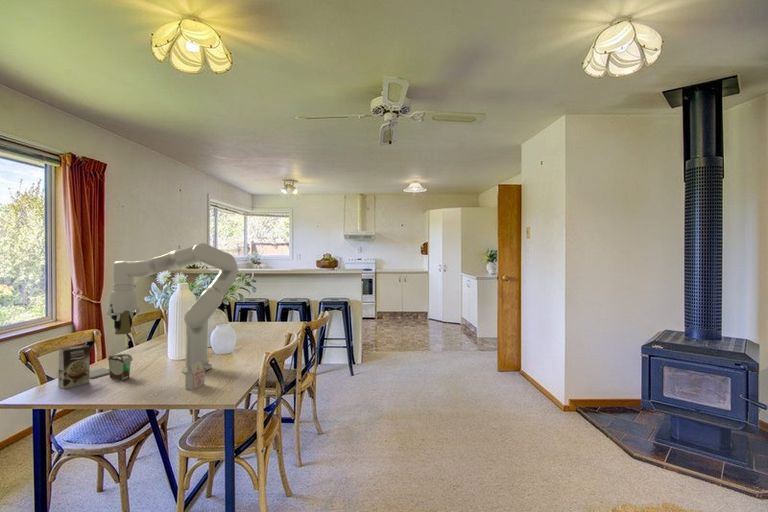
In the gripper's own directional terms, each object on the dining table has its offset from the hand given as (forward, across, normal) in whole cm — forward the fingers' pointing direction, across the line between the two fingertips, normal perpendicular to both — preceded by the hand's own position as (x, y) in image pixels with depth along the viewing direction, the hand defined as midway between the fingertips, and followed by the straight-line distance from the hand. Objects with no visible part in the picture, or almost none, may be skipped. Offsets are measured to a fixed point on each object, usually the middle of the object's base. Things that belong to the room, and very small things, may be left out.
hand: (123, 328), depth 165 cm
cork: (+2, 0, 0) cm, 2 cm away
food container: (+23, 0, 0) cm, 23 cm away
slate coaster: (+23, +2, -16) cm, 28 cm away
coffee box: (+23, +14, -10) cm, 29 cm away
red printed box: (+23, -6, +39) cm, 46 cm away
